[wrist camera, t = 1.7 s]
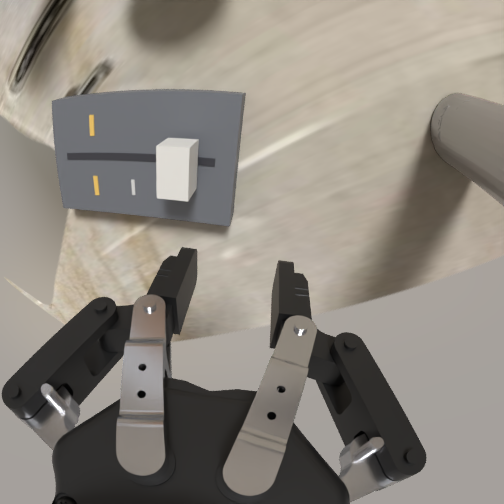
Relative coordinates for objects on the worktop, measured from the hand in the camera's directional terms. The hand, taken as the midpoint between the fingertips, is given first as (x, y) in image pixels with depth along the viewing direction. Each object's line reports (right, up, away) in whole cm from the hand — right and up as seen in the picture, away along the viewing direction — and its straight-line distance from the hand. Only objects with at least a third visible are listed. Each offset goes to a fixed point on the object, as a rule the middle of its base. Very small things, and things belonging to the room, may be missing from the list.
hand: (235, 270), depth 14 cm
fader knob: (-6, +10, +13) cm, 17 cm away
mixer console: (-12, +13, +16) cm, 23 cm away
